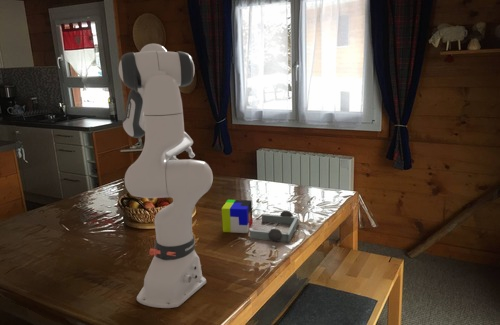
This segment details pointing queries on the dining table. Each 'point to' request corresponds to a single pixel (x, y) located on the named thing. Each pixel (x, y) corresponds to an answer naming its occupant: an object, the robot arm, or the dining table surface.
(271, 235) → the tray
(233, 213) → the puzzle toy
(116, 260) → the dining table surface
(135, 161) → the robot arm
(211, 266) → the dining table surface
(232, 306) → the dining table surface
